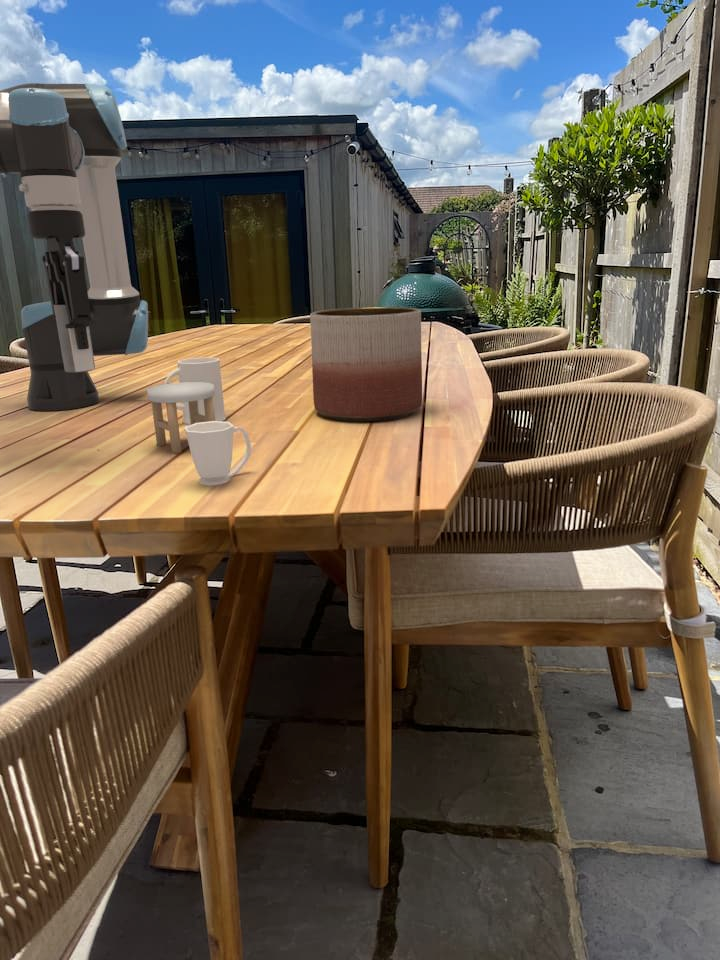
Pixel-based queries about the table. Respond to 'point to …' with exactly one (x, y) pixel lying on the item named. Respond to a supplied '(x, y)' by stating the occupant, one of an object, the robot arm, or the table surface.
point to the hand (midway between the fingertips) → (79, 368)
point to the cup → (214, 450)
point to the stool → (172, 396)
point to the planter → (366, 362)
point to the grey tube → (66, 337)
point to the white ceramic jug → (201, 372)
